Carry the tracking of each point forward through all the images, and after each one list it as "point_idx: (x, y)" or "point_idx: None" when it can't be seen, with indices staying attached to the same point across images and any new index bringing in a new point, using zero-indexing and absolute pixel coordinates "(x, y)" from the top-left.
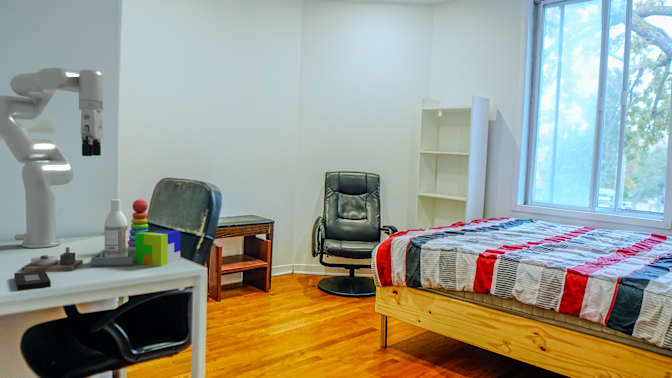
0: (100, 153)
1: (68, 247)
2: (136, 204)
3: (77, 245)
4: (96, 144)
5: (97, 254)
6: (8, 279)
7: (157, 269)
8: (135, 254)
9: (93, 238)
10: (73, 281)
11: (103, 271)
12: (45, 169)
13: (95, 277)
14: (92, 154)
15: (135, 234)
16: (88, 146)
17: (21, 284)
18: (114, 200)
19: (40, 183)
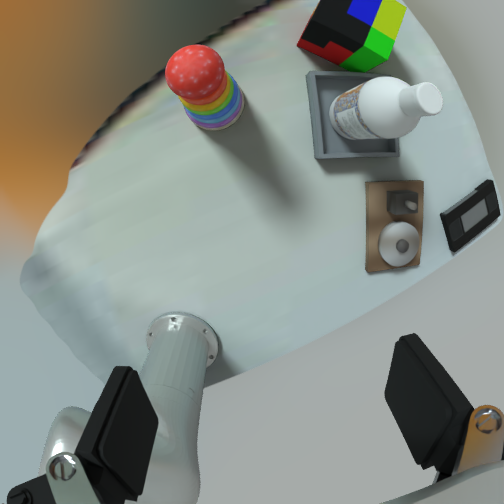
0: (117, 376)
1: (413, 205)
2: (221, 72)
3: (170, 274)
4: (112, 475)
5: (368, 153)
6: (452, 254)
7: (399, 35)
8: (365, 71)
9: (88, 274)
10: (470, 156)
11: (421, 123)
12: (166, 479)
13: (453, 128)
14: (154, 417)
15: (386, 60)
16: (468, 401)
17: (499, 211)
18: (442, 101)
19: (190, 448)
